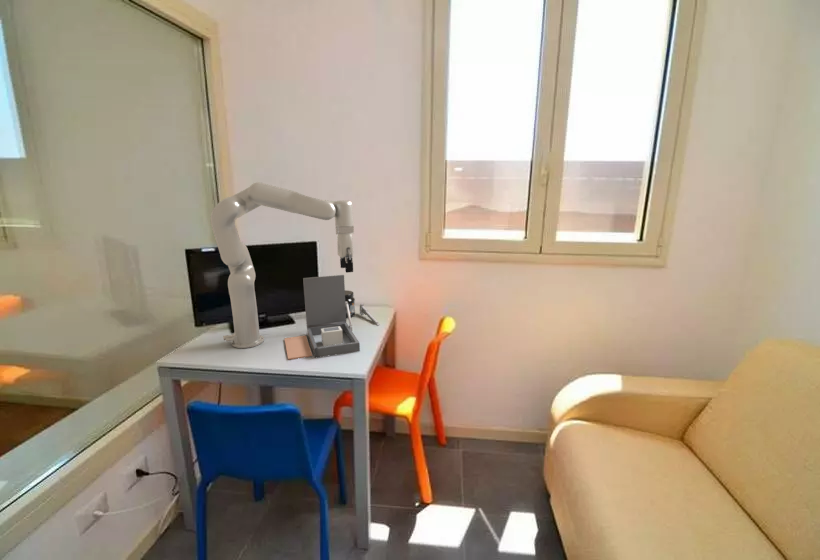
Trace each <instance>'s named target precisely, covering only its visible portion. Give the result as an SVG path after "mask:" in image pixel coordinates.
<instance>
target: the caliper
mask: <svg viewBox="0 0 820 560" xmlns="http://www.w3.org/2000/svg"><path fill="white" fill-rule="evenodd" d="M359 315H361V316H367V317H368V319H370V321H371V322H373V323H374V324H375V325H376V326H380V323H379V321H378V320H377V319H376V318H375V317H374V316H373V315H372V314H371V313H370V312H369V311H368V309H367V308H366V307H365V306H364V303H363V302H361V303H360V305H359Z"/></svg>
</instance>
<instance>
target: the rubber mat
mask: <svg viewBox="0 0 820 560" xmlns="http://www.w3.org/2000/svg"><path fill="white" fill-rule="evenodd" d="M283 339H284V344H285V349H286V353H287V354H286V355H287V360H288V361H290V360H298V358H299V359H305V358H310V356H312V357H313V351H312V348H311V345H310V342H309V339H308V336H307V335H305V334H304V335H298V336H291V337H284V338H283ZM304 357H305V358H304Z"/></svg>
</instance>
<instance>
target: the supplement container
mask: <svg viewBox="0 0 820 560" xmlns="http://www.w3.org/2000/svg"><path fill="white" fill-rule="evenodd" d="M354 296H355V294H354V291H352V290H349V289H347V290H346V289H345V302H348V306H349V312H350V317H351V318H353V317H354V316H355V315H356V304H355V302H356V298H355V297H354ZM346 319H348V313H347V308H346Z"/></svg>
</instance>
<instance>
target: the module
mask: <svg viewBox="0 0 820 560" xmlns="http://www.w3.org/2000/svg"><path fill="white" fill-rule="evenodd" d="M320 336H321V337H320V338H321V343H322V344H321V345H322V347H325V346H328V345H329V346H332V345H335V344H336V345H339V344H341V343H343V344H344V338H343V337H344V336H343V331H342V329H341V327H340V326H338V327H330V328H323V329H321V334H320Z"/></svg>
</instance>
